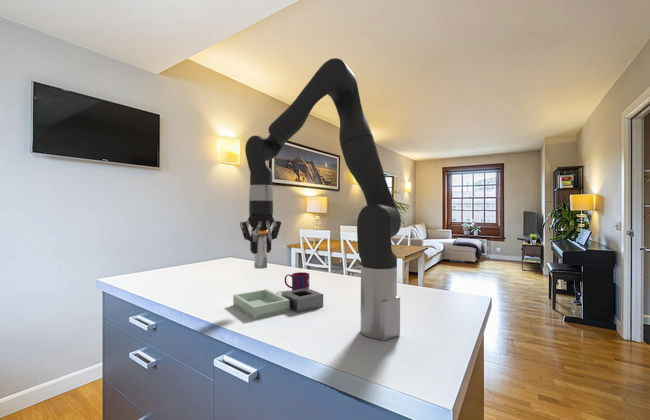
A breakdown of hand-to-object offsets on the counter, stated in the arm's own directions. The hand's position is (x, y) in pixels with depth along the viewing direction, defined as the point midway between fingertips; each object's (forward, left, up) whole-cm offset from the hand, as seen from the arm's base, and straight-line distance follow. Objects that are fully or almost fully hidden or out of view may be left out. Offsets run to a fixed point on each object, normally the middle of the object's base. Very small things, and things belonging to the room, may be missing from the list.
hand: (260, 252), depth 96 cm
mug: (+10, -20, -18) cm, 29 cm away
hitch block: (-6, -12, -18) cm, 22 cm away
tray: (0, 0, -18) cm, 18 cm away
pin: (0, 0, -5) cm, 5 cm away
